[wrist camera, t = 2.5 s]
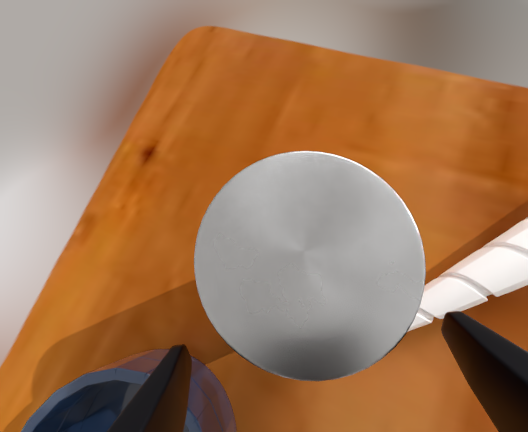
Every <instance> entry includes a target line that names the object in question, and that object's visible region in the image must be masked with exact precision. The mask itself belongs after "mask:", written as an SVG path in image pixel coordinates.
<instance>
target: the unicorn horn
mask: <svg viewBox="0 0 528 432" xmlns="http://www.w3.org/2000/svg"><path fill="white" fill-rule="evenodd" d="M527 285H528V217H527V218H526V219H525V220H523V221H520V222H519V223H517V224H516V225H515V226H513V227H512V228H510V229H509V230H507V231H506V232H504V233H503V234H501V235H500V236H498V237H497V238H495V239H494V240H492V241H491V242H489V243H488V244H486V245H484V246H483V247H482V248H481V249H479V250H477V251H475V252H474V253H472V254H471V255H469V256H468V257H466V258H465V259H463V260H462V261H460V262H459V263H457V264H456V265H454V266H453V267H451V268H450V269H448V270H447V271H445V272H444V273H442V274H441V275H440V276H439V277H438V278H436V279H433V280H432V281H431V282H429V283H428V284H426V285H425V286H424V292H423V296H422V300H421V304H420V307H419V309H418V312H417V314H416V317H415V319H414V321H413V323H412V324H411V326H410V328H409V329H408V331H410V330H413V329H416V328H419V327H421V326H424V325H427V324H430V323H432V321H433V317H436V318H439V319H443V318H444V316H445V314H446V313H447V312H453V311H460V312H461V311H463V310H466V309H468V308H471V307H473V306H476V305H479V304H481V303H484V302H486V301H488V299H487V298H486V297H487V296H489V295H491V294H493V295H494V296H496V297H499V296H501V295H504V294H506V293H509V292H512V291H514V290H517V289H519V288H522V287H524V286H527ZM408 331H407V332H408Z"/></svg>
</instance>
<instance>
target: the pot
mask: <svg viewBox="0 0 528 432" xmlns="http://www.w3.org/2000/svg"><path fill="white" fill-rule="evenodd" d="M169 350H170V349H155V350H148V351H145V352H141V353H137V354H133V355H131V356H128V357H126V358H123V359H121V360H118V361H116V362H113V363H111V364H108V365H106V366H103V367H101V368H98V369H96V370H93V371H91V372H88V373H86V374H84V375H82V376H80V377H79V378H77V379H75V380H73V381H72V382H70V383H68V384H67V385H65V386H63V387H61V388H60V389H58V390H56V391H55V392H54V393H53V394H52V395H51V396H50V397H49V398H48V399H47V400H46V401H45V402H44V404H43V405H42V406H41V407H40V408H39V409H38V410H37V411H36V412H35V413H34V414H33V415H32V416H31V417H30V418H29V420H28V421H27V422H26V424H25V426H24V427H23V429H22V431H21V432H107V431H108V429H109V428H110V427H111V425H112V424H113V423H114V422H115V420H116V419H117V418H118V416H119V415H120V414H121V412H122V411H123V410H124V409H125V407H126V406H127V405H128V403H129V402H130V401H131V399H132V398H133V397H134V395H135V394H136V393H137V392H138V390H139V389H140V388H141V386H142V385H143V384H144V382H145V381H146V380H147V379H148V377H149V376H150V375H151V373H152V372H153V371H154V369H155V368H156V367H157V366H158V364H159V363H160V362H161V360H162V359H163V358H164V356H165V355H166V354H167V353H168V351H169ZM191 358H192V370H191V380H190V389H189V398H188V407H187V414H186V420H185V425H184V430H183V432H237V430H236V423H235V418H234V414H233V410H232V407H231V404H230V401H229V399H228V397H227V394H226V392H225V390H224V388H223V387H222V385H221V383H220V382H219V380H218V379H217V378H216V376H215V375H214V374H213V373H212V372H211V371H210V370H209V369H208V368H207V367H206V366H205V365H204V364H203V363H201V362H200V361H199V360H197V359H196V358H194V357H192V356H191Z"/></svg>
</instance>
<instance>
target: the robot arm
mask: <svg viewBox="0 0 528 432" xmlns="http://www.w3.org/2000/svg"><path fill="white" fill-rule="evenodd" d="M441 331H442V334H443V336H444V338H445V340H446V342H447V344H448V346H449V348H450V350H451V352H452V354H453V356H454V358H455V360H456V362H457V363H458V365H459V367H460V369H461V371H462V373H463V375H464V377H465V379H466V380H467V382H468V384H469V386H470V387H471V389H472V391H473V392H474V394H475V395H476V397H477V398H478V400H479V402H480V403H481V405H482V406H483V408H484V409H485V411H486V413H487V414H488V416H489V417H490V419H491V420H492V422H493V424H494V425H495V427H496V428H497V430H498V431H499V432H528V352H527V351H525V350H523V349H522V348H520V347H519V346H517V345H515V344H514V343H512V342H510V341H509V340H507V339H505V338H504V337H502V336H500V335H499V334H497V333H495V332H494V331H492V330H491V329H489V328H487V327H486V326H484V325H482V324H481V323H479V322H477V321H476V320H474V319H472V318H471V317H469V316H467V315H466V314H464V313H462V312H460V311H453V312H447V313H446V314H445V316H444V319H443V323H442V327H441ZM191 370H192V358H191V356H190V354H189V352H188V350H187V348H186V346H185V345H184V344H182V345H175V346H173V347H171V349H170V350H169V351H168V353H167V354H166V355H165V356H164V358H163V359H162V360H161V362H160V363H159V364H158V366H157V367H156V368H155V369H154V371H153V372H152V373H151V375H150V376H149V377H148V379H147V380H146V381H145V382H144V384H143V385H142V386H141V388H140V389H139V390H138V392H137V393H136V394H135V395H134V397H133V398H132V399H131V401H130V402H129V403H128V405H127V406H126V407H125V409H124V410H123V411H122V412H121V414H120V415H119V416H118V418H117V419H116V420H115V422H114V423H113V424H112V425H111V427H110V428H109V429H108V431H107V432H183V430H184V425H185V420H186V414H187V407H188V398H189V389H190V380H191Z"/></svg>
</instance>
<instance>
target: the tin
mask: <svg viewBox="0 0 528 432" xmlns="http://www.w3.org/2000/svg"><path fill="white" fill-rule="evenodd" d="M194 269H195V279H196V285H197V290H198V293H199V296H200V299H201V303H202V305H203V307H204V310H205V312H206V314H207V316H208V318H209V320H210V321H211V323H212V325H213V326H214V328H215V329H216V331H217V332H218V333H219V335H220V336H221V337H222V338H223V339H224V341H225V342H226V343H227V344H228V345H229V346H230V347H231V348H232V349H233V350H234V351H236V352H237V353H238V354H239V355H240V356H242V357H243V358H244V359H246V360H247V361H249V362H250V363H252V364H253V365H255V366H257V367H259V368H261V369H263V370H265V371H267V372H269V373H272V374H275V375H278V376H281V377H284V378H289V379H295V380H300V381H326V380H334V379H339V378H342V377H346V376H350V375H353V374H355V373H358V372H360V371H362V370H364V369H367V368H369V367H370V366H372V365H373V364H375V363H376V362H378V361H379V360H381V359H382V358H384V357H385V356H386V355H387V354H388V353H389V352H390V351H391V350H393V349H394V348H395V347H396V345H397V344H398V343H399V342H400V341H401V339H402V338H403V337H404V336H405V335H406V333H407V331H408V329H409V328H410V326H411V324H412V323H413V321H414V319H415V317H416V314H417V312H418V309H419V307H420V304H421V300H422V296H423V292H424V286H425V275H426V269H425V255H424V249H423V244H422V240H421V237H420V234H419V231H418V227H417V225H416V223H415V221H414V219H413V217H412V215H411V213H410V211H409V210H408V208H407V206H406V205H405V203H404V202H403V200H402V199H401V198H400V197H399V195H398V194H397V193H396V192H395V191H394V189H393V188H391V187H390V186H389V185H388V184H387V183H386V182H385V181H384V180H383V179H382V178H380V177H379V176H378V175H376V174H375V173H374V172H372V171H371V170H369V169H367V168H366V167H364V166H362V165H361V164H359V163H356V162H354V161H352V160H349V159H347V158H344V157H341V156H338V155H334V154H329V153H324V152H316V151H295V152H288V153H282V154H278V155H274V156H271V157H267V158H265V159H263V160H260V161H258V162H256V163H254V164H252V165H250V166H248V167H247V168H245V169H243V170H242V171H241V172H239V173H238V174H237V175H235V176H234V177H233V178H232V179H231V180H230V181H229V182H227V183H226V184H225V185H224V186H223V188H222V189H221V190H220V191H219V192H218V194H217V195H216V196H215V198H214V199H213V201H212V202H211V204H210V205H209V207H208V209H207V211H206V213H205V215H204V217H203V219H202V222H201V225H200V228H199V231H198V235H197V240H196V245H195V255H194Z"/></svg>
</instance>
